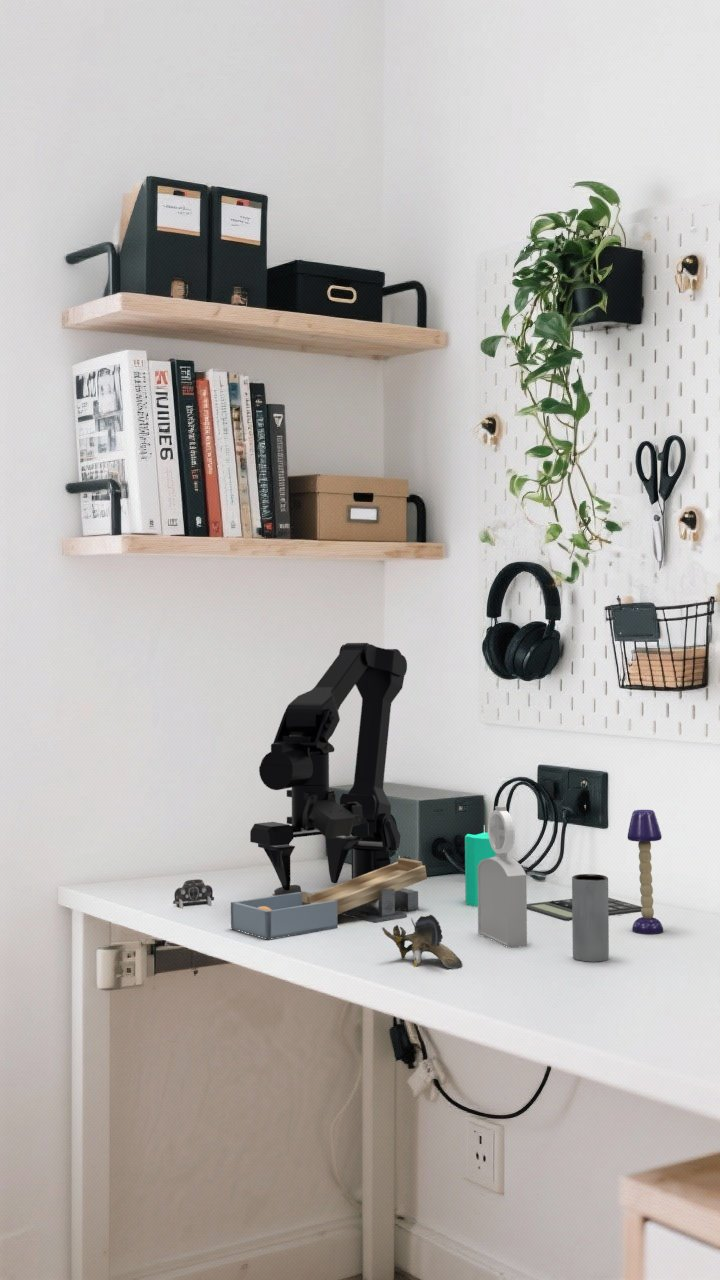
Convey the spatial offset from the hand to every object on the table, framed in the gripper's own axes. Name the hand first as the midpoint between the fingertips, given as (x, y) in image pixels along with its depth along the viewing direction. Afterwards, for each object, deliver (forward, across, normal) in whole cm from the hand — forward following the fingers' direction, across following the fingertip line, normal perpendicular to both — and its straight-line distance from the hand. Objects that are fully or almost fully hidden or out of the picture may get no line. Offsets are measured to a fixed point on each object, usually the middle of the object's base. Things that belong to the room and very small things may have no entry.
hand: (310, 886), depth 210 cm
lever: (0, +3, -6) cm, 6 cm away
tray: (+3, -12, -10) cm, 16 cm away
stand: (+3, +6, -10) cm, 12 cm away
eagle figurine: (+4, -11, -39) cm, 40 cm away
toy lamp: (+3, +25, -44) cm, 51 cm away
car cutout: (+4, -9, +12) cm, 15 cm away
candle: (+3, +22, -15) cm, 27 cm away
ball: (+1, -16, -10) cm, 19 cm away
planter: (+3, +7, -50) cm, 51 cm away
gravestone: (+3, +6, -35) cm, 36 cm away
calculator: (+4, +30, -28) cm, 41 cm away
